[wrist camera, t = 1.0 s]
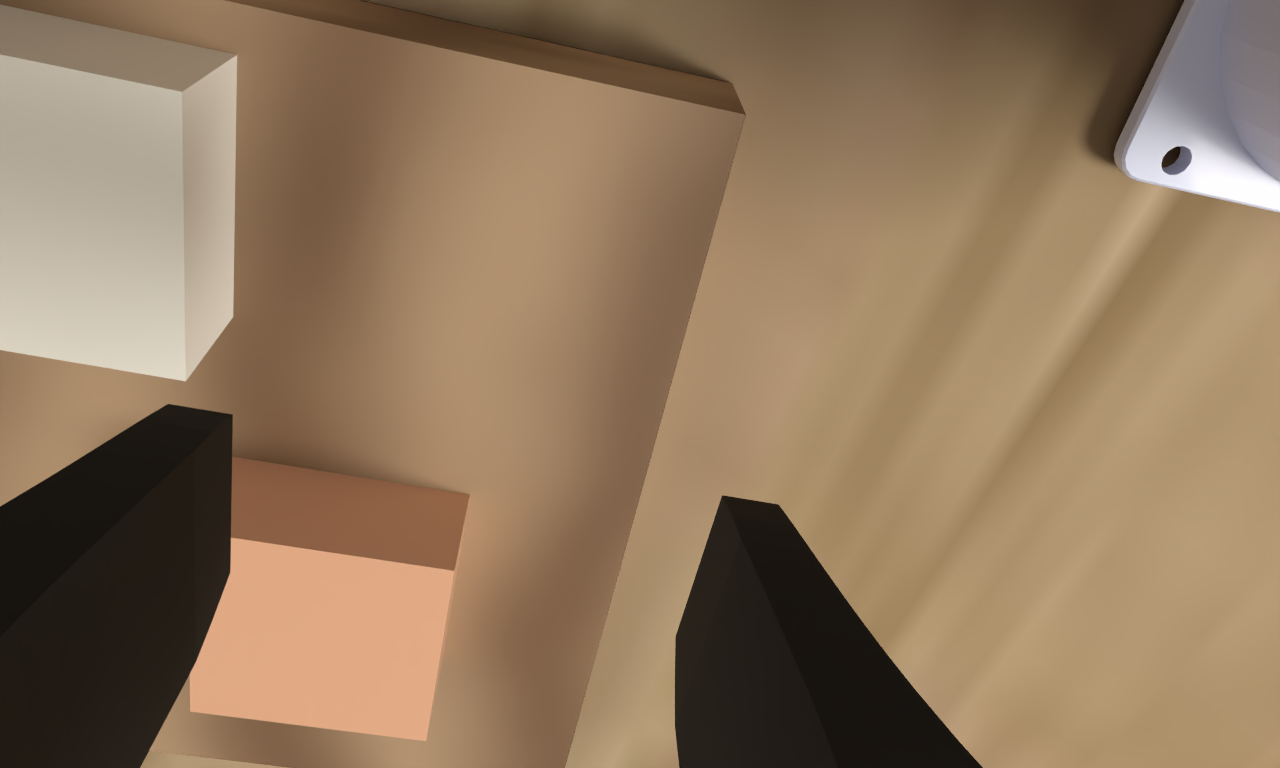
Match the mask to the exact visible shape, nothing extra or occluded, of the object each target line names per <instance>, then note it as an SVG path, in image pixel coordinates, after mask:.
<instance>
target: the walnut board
mask: <svg viewBox="0 0 1280 768" xmlns="http://www.w3.org/2000/svg"><path fill="white" fill-rule="evenodd" d="M0 5H5V6H10V7H14V8H19V9H24V10H29V11H33V12H38V13H43V14H47V15H52V16H57V17H61V18H66V19H71V20H76V21H80V22H85V23H90V24H94V25H99V26H104V27H108V28H113V29H118V30H123V31H127V32H132V33H137V34H141V35H146V36H151V37H156V38H160V39H165V40H170V41H174V42H179V43H184V44H188V45H193V46H198V47H203V48H207V49H212V50H217V51H221V52H226V53H231V54H235V55H237V95H236V163H235V231H234V299H233V318H232V319H231V321H230V322H229V323H228V325H227V326H226V327H225V329H224V330H223V331H222V333H221V334H220V336H219V337H218V338H217V340H216V341H215V342H214V344H213V345H212V346H211V348H210V349H209V351H208V352H207V353H206V355H205V356H204V357H203V359H202V360H201V361H200V363H199V364H198V365H197V367H196V368H195V370H194V371H193V372H192V374H191V375H190V376H189V378H188V379H187V380H186V381H181V380H175V379H169V378H163V377H157V376H151V375H145V374H139V373H133V372H127V371H121V370H115V369H109V368H104V367H98V366H92V365H86V364H80V363H74V362H68V361H62V360H56V359H50V358H44V357H38V356H32V355H26V354H21V353H15V352H9V351H3V350H0V506H2V505H3V504H5V503H7V502H8V501H10V500H12V499H13V498H15V497H17V496H18V495H20V494H22V493H23V492H25V491H27V490H29V489H30V488H32V487H34V486H35V485H37V484H39V483H40V482H42V481H44V480H45V479H47V478H49V477H50V476H52V475H53V474H55V473H57V472H58V471H60V470H62V469H63V468H65V467H66V466H68V465H70V464H71V463H73V462H74V461H76V460H78V459H79V458H81V457H82V456H84V455H86V454H87V453H89V452H91V451H92V450H94V449H95V448H97V447H99V446H100V445H102V444H103V443H105V442H107V441H108V440H110V439H111V438H113V437H115V436H116V435H118V434H119V433H121V432H123V431H124V430H126V429H127V428H129V427H131V426H132V425H134V424H135V423H137V422H139V421H140V420H142V419H144V418H145V417H147V416H148V415H150V414H152V413H153V412H155V411H157V410H159V409H160V408H162V407H164V406H165V405H167V404H172V405H178V406H185V407H191V408H197V409H203V410H209V411H215V412H221V413H227V414H233V436H232V457H238V458H244V459H250V460H256V461H263V462H269V463H275V464H281V465H288V466H294V467H300V468H306V469H313V470H319V471H325V472H332V473H338V474H344V475H350V476H357V477H363V478H369V479H375V480H382V481H388V482H394V483H400V484H407V485H413V486H419V487H425V488H432V489H438V490H444V491H450V492H457V493H463V494H469V495H470V497H469V503H468V509H467V515H466V521H465V527H464V533H463V539H462V545H461V551H460V557H459V563H458V569H457V575H456V581H455V587H454V593H453V599H452V605H451V610H450V616H449V622H448V628H447V634H446V640H445V646H444V652H443V658H442V663H441V668H440V673H439V678H438V683H437V689H436V694H435V699H434V704H433V709H432V714H431V719H430V724H429V729H428V734H427V739H426V741H420V740H412V739H404V738H396V737H388V736H380V735H373V734H365V733H357V732H349V731H341V730H333V729H325V728H317V727H309V726H301V725H293V724H285V723H277V722H269V721H261V720H253V719H245V718H237V717H229V716H221V715H213V714H205V713H197V712H190V675H189V676H188V678H187V680H186V682H185V684H184V686H183V688H182V690H181V692H180V694H179V695H178V697H177V699H176V701H175V703H174V705H173V707H172V709H171V711H170V712H169V714H168V716H167V718H166V720H165V722H164V724H163V726H162V727H161V729H160V731H159V733H158V735H157V737H156V739H155V741H154V742H153V744H152V746H151V748H150V750H149V751H156V752H164V753H173V754H181V755H189V756H198V757H206V758H215V759H223V760H231V761H240V762H248V763H256V764H265V765H273V766H281V767H290V768H565V765H566V762H567V758H568V754H569V751H570V747H571V744H572V740H573V736H574V733H575V729H576V726H577V722H578V718H579V715H580V711H581V708H582V704H583V700H584V697H585V693H586V690H587V686H588V682H589V679H590V675H591V671H592V668H593V664H594V661H595V657H596V653H597V650H598V646H599V643H600V639H601V635H602V632H603V628H604V625H605V621H606V617H607V614H608V610H609V607H610V603H611V599H612V596H613V592H614V588H615V585H616V581H617V578H618V574H619V570H620V567H621V563H622V560H623V556H624V552H625V549H626V545H627V542H628V538H629V534H630V531H631V527H632V524H633V520H634V516H635V513H636V509H637V505H638V502H639V498H640V495H641V491H642V487H643V484H644V480H645V477H646V473H647V469H648V466H649V462H650V459H651V455H652V451H653V448H654V444H655V441H656V437H657V433H658V430H659V426H660V422H661V419H662V415H663V412H664V408H665V404H666V401H667V397H668V394H669V390H670V386H671V383H672V379H673V376H674V372H675V368H676V365H677V361H678V358H679V354H680V350H681V347H682V343H683V339H684V336H685V332H686V329H687V325H688V321H689V318H690V314H691V311H692V307H693V303H694V300H695V296H696V293H697V289H698V285H699V282H700V278H701V275H702V271H703V267H704V264H705V260H706V256H707V253H708V249H709V246H710V242H711V238H712V235H713V231H714V228H715V224H716V220H717V217H718V213H719V210H720V206H721V202H722V199H723V195H724V192H725V188H726V184H727V181H728V177H729V173H730V170H731V166H732V163H733V159H734V155H735V152H736V148H737V145H738V141H739V137H740V134H741V130H742V127H743V123H744V119H745V116H746V114H745V112H744V110H743V107H742V105H741V103H740V100H739V98H738V96H737V93H736V91H735V89H734V86H733V84H732V83H728V82H723V81H719V80H715V79H710V78H706V77H701V76H697V75H692V74H688V73H683V72H679V71H674V70H670V69H665V68H661V67H656V66H652V65H647V64H643V63H638V62H634V61H630V60H625V59H621V58H616V57H612V56H607V55H603V54H598V53H594V52H589V51H585V50H580V49H576V48H571V47H567V46H562V45H558V44H553V43H549V42H544V41H540V40H536V39H531V38H527V37H522V36H518V35H513V34H509V33H504V32H500V31H495V30H491V29H486V28H482V27H477V26H473V25H468V24H464V23H459V22H455V21H451V20H446V19H442V18H437V17H433V16H428V15H424V14H419V13H415V12H410V11H406V10H401V9H397V8H392V7H388V6H383V5H379V4H374V3H370V2H365V1H361V0H0Z"/></svg>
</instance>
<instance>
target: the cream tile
mask: <svg viewBox="0 0 1280 768" xmlns="http://www.w3.org/2000/svg"><path fill="white" fill-rule="evenodd" d="M236 95H237V55H235V54H231V53H226V52H221V51H217V50H212V49H207V48H203V47H198V46H193V45H188V44H184V43H179V42H174V41H170V40H165V39H160V38H156V37H151V36H146V35H141V34H137V33H132V32H127V31H123V30H118V29H113V28H108V27H104V26H99V25H94V24H90V23H85V22H80V21H76V20H71V19H66V18H61V17H57V16H52V15H47V14H43V13H38V12H33V11H29V10H24V9H19V8H14V7H10V6H5V5H0V350H3V351H9V352H15V353H21V354H26V355H32V356H38V357H44V358H50V359H56V360H62V361H68V362H74V363H80V364H86V365H92V366H98V367H104V368H109V369H115V370H121V371H127V372H133V373H139V374H145V375H151V376H157V377H163V378H169V379H175V380H181V381H186V380H187V379H188V378H189V376H190V375H191V374H192V372H193V371H194V370H195V368H196V367H197V365H198V364H199V363H200V361H201V360H202V359H203V357H204V356H205V355H206V353H207V352H208V351H209V349H210V348H211V346H212V345H213V344H214V342H215V341H216V340H217V338H218V337H219V336H220V334H221V333H222V331H223V330H224V329H225V327H226V326H227V325H228V323H229V322H230V321H231V319H232V318H233V299H234V231H235V163H236Z"/></svg>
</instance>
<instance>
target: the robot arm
mask: <svg viewBox="0 0 1280 768" xmlns="http://www.w3.org/2000/svg"><path fill="white" fill-rule="evenodd" d="M1176 146H1180V148H1181V151H1180V155H1179V158H1178V159H1177V160H1176V161H1175V163H1174V164H1172V165H1170V166H1168V167H1166V168H1162V166H1161V164H1162V159H1163V157H1164V156H1165V154H1166V153H1167V152H1168V151H1169V150H1171V149H1172V148H1174V147H1176ZM1114 159H1115V164H1116V166H1117V167H1118V168H1119V170H1120V171H1121V172H1122V173H1124V174H1125V175H1127V176H1128V177H1130V178H1132V179H1134V180H1136V181H1141V182H1145V183H1150V184H1154V185H1159V186H1163V187H1168V188H1172V189H1177V190H1181V191H1186V192H1190V193H1195V194H1199V195H1204V196H1208V197H1213V198H1217V199H1222V200H1226V201H1231V202H1235V203H1240V204H1244V205H1249V206H1253V207H1258V208H1262V209H1267V210H1271V211H1275V212H1280V0H1184V2H1183V5H1182V7H1181V9H1180V11H1179V13H1178V15H1177V17H1176V19H1175V21H1174V24H1173V26H1172V28H1171V30H1170V32H1169V34H1168V36H1167V38H1166V40H1165V42H1164V45H1163V47H1162V49H1161V51H1160V53H1159V55H1158V57H1157V59H1156V61H1155V64H1154V66H1153V68H1152V70H1151V72H1150V74H1149V76H1148V78H1147V80H1146V82H1145V85H1144V87H1143V89H1142V91H1141V93H1140V95H1139V97H1138V99H1137V101H1136V103H1135V106H1134V108H1133V110H1132V112H1131V114H1130V116H1129V118H1128V120H1127V122H1126V125H1125V127H1124V129H1123V131H1122V133H1121V135H1120V137H1119V139H1118V141H1117V144H1116V147H1115V151H1114ZM232 436H233V414H227V413H221V412H215V411H209V410H203V409H197V408H191V407H185V406H178V405H172V404H167V405H165V406H164V407H162V408H160V409H159V410H157V411H155V412H153V413H152V414H150V415H148V416H147V417H145V418H144V419H142V420H140V421H139V422H137V423H135V424H134V425H132V426H131V427H129V428H127V429H126V430H124V431H123V432H121V433H119V434H118V435H116V436H115V437H113V438H111V439H110V440H108V441H107V442H105V443H103V444H102V445H100V446H99V447H97V448H95V449H94V450H92V451H91V452H89V453H87V454H86V455H84V456H82V457H81V458H79V459H78V460H76V461H74V462H73V463H71V464H70V465H68V466H66V467H65V468H63V469H62V470H60V471H58V472H57V473H55V474H53V475H52V476H50V477H49V478H47V479H45V480H44V481H42V482H40V483H39V484H37V485H35V486H34V487H32V488H30V489H29V490H27V491H25V492H23V493H22V494H20V495H18V496H17V497H15V498H13V499H12V500H10V501H8V502H7V503H5V504H3V505H2V506H0V768H140V766H141V765H142V763H143V761H144V759H145V757H146V755H147V753H148V752H149V750H150V748H151V746H152V744H153V742H154V741H155V739H156V737H157V735H158V733H159V731H160V729H161V727H162V726H163V724H164V722H165V720H166V718H167V716H168V714H169V712H170V711H171V709H172V707H173V705H174V703H175V701H176V699H177V697H178V695H179V694H180V692H181V690H182V688H183V686H184V684H185V682H186V680H187V678H188V676H189V675H190V673H191V671H192V669H193V667H194V665H195V663H196V661H197V658H198V656H199V653H200V651H201V648H202V646H203V643H204V640H205V638H206V635H207V633H208V630H209V628H210V625H211V623H212V620H213V618H214V615H215V612H216V610H217V607H218V604H219V602H220V599H221V596H222V593H223V591H224V588H225V585H226V583H227V580H228V577H229V575H230V567H231V501H232ZM675 729H676V739H677V749H678V758H679V767H680V768H983V767H982V766H981V765H980V764H979V763H978V762H977V761H976V760H975V759H974V758H973V756H972V755H971V754H970V753H969V752H968V751H967V750H966V749H965V748H964V747H963V745H962V744H961V743H960V742H959V741H958V740H957V739H956V738H955V736H954V735H953V734H952V733H951V732H950V730H949V729H948V728H947V727H946V726H945V725H944V723H943V722H942V721H941V720H940V719H939V717H938V716H937V715H936V714H935V713H934V711H933V710H932V709H931V708H930V707H929V706H928V704H927V703H926V702H925V701H924V700H923V698H922V697H921V696H920V695H919V694H918V693H917V691H916V690H915V689H914V688H913V687H912V685H911V684H910V683H909V682H908V680H907V679H906V678H905V677H904V675H903V674H902V673H901V671H900V670H899V669H898V668H897V666H896V665H895V664H894V663H893V661H892V660H891V659H890V658H889V656H888V655H887V654H886V652H885V651H884V650H883V649H882V647H881V646H880V645H879V643H878V642H877V641H876V639H875V638H874V637H873V635H872V634H871V633H870V631H869V630H868V629H867V627H866V626H865V625H864V623H863V622H862V621H861V619H860V618H859V617H858V615H857V614H856V613H855V611H854V610H853V609H852V607H851V606H850V604H849V603H848V602H847V600H846V599H845V598H844V596H843V595H842V593H841V592H840V591H839V589H838V588H837V586H836V585H835V584H834V582H833V581H832V579H831V578H830V576H829V575H828V574H827V572H826V571H825V569H824V568H823V567H822V565H821V564H820V562H819V561H818V560H817V558H816V557H815V555H814V554H813V552H812V551H811V550H810V548H809V547H808V545H807V544H806V542H805V541H804V539H803V538H802V537H801V535H800V534H799V532H798V531H797V529H796V528H795V527H794V525H793V524H792V522H791V521H790V520H789V518H788V517H787V515H786V514H785V513H784V511H783V510H782V509H781V507H780V506H779V505H777V504H771V503H765V502H759V501H753V500H747V499H741V498H735V497H729V496H723V495H722V498H721V501H720V504H719V507H718V510H717V513H716V516H715V519H714V522H713V525H712V528H711V531H710V534H709V537H708V540H707V543H706V546H705V550H704V553H703V556H702V559H701V562H700V565H699V568H698V571H697V574H696V577H695V580H694V583H693V586H692V589H691V592H690V595H689V598H688V601H687V604H686V607H685V610H684V613H683V616H682V619H681V622H680V625H679V628H678V631H677V634H676V655H675Z"/></svg>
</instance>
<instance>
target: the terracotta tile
mask: <svg viewBox="0 0 1280 768" xmlns="http://www.w3.org/2000/svg"><path fill="white" fill-rule="evenodd" d="M469 497H470V495H469V494H463V493H457V492H450V491H444V490H438V489H432V488H425V487H419V486H413V485H407V484H400V483H394V482H388V481H382V480H375V479H369V478H363V477H357V476H350V475H344V474H338V473H332V472H325V471H319V470H313V469H306V468H300V467H294V466H288V465H281V464H275V463H269V462H263V461H256V460H250V459H244V458H238V457H232V501H231V567H230V575H229V577H228V580H227V583H226V585H225V588H224V591H223V593H222V596H221V599H220V602H219V604H218V607H217V610H216V612H215V615H214V618H213V620H212V623H211V625H210V628H209V630H208V633H207V635H206V638H205V640H204V643H203V646H202V648H201V651H200V653H199V656H198V658H197V661H196V663H195V665H194V667H193V669H192V671H191V673H190V712H197V713H205V714H213V715H221V716H229V717H237V718H245V719H253V720H261V721H269V722H277V723H285V724H293V725H301V726H309V727H317V728H325V729H333V730H341V731H349V732H357V733H365V734H373V735H380V736H388V737H396V738H404V739H412V740H420V741H426V739H427V734H428V729H429V724H430V719H431V714H432V709H433V704H434V699H435V694H436V689H437V683H438V678H439V673H440V668H441V663H442V658H443V652H444V646H445V640H446V634H447V628H448V622H449V616H450V610H451V605H452V599H453V593H454V587H455V581H456V575H457V569H458V563H459V557H460V551H461V545H462V539H463V533H464V527H465V521H466V515H467V509H468V503H469Z"/></svg>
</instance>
